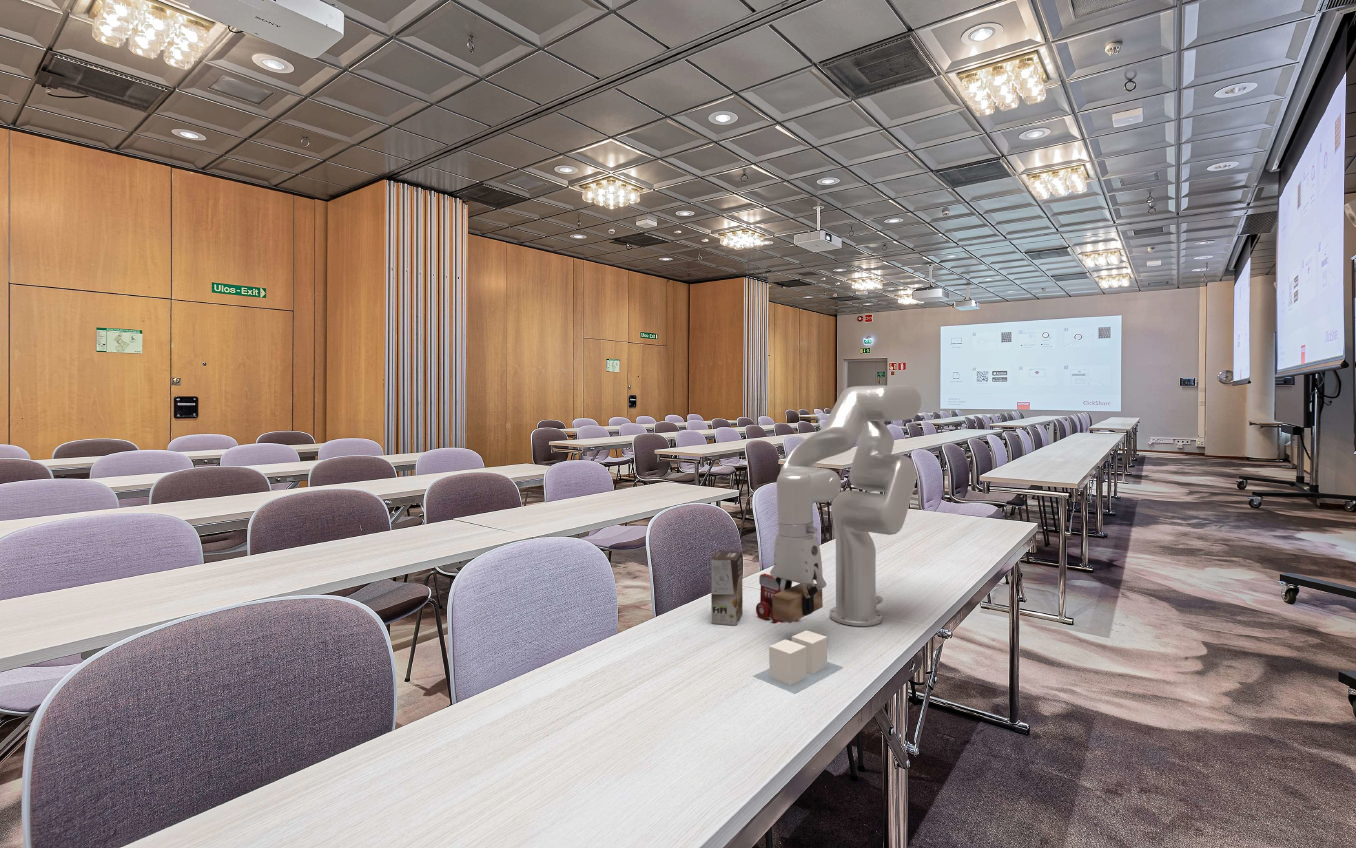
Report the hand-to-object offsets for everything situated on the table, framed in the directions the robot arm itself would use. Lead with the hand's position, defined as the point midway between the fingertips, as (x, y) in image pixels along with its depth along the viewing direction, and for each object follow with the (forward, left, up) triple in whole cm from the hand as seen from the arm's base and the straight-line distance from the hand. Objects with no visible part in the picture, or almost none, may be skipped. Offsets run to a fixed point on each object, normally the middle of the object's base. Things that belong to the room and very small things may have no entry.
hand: (798, 610), depth 136 cm
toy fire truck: (-11, -14, -8) cm, 20 cm away
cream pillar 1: (+16, +9, -7) cm, 19 cm away
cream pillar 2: (+9, +9, -7) cm, 14 cm away
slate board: (+12, +9, -8) cm, 17 cm away
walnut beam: (0, 0, -1) cm, 1 cm away
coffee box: (-2, -23, -8) cm, 24 cm away
